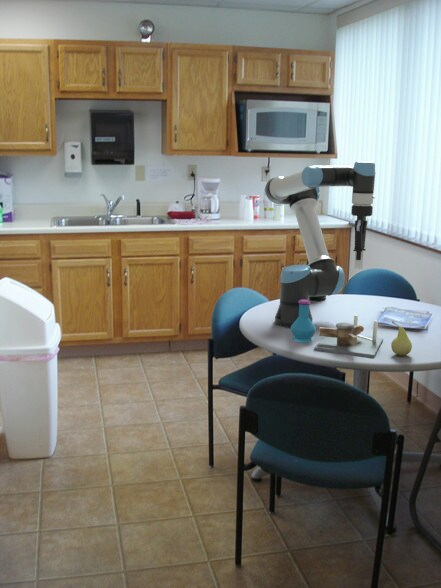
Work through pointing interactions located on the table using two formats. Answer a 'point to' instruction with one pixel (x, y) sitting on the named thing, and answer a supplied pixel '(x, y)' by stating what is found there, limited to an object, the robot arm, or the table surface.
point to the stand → (363, 348)
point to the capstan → (342, 333)
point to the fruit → (401, 343)
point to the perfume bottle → (303, 324)
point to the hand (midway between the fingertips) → (358, 268)
